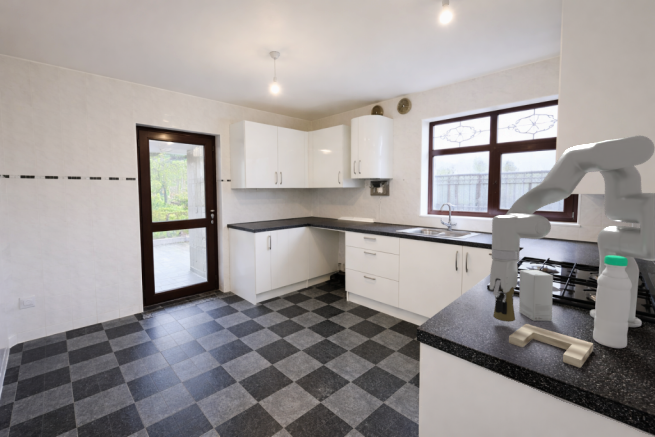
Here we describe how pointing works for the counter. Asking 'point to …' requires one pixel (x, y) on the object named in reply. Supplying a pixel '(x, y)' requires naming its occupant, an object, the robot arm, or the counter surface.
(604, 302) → the water bottle
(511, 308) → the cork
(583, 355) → the wooden u-shaped block
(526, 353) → the counter surface
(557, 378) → the counter surface
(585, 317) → the counter surface
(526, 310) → the skincare box
